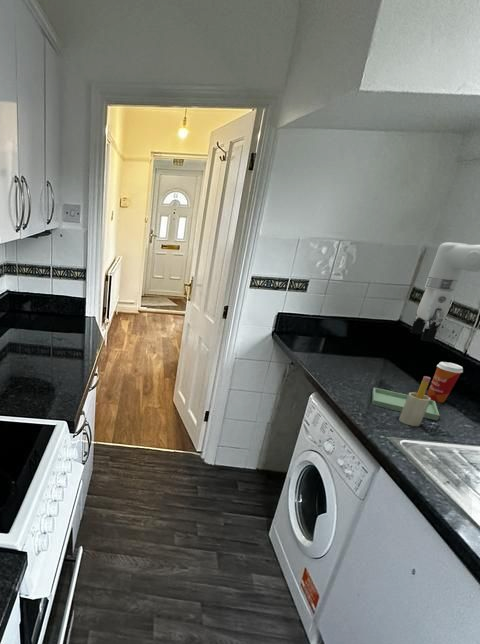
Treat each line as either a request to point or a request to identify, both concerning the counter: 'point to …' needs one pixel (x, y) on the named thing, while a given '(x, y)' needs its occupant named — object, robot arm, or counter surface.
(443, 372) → the paper cup
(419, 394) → the pencil
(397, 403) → the tray
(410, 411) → the pen cup
